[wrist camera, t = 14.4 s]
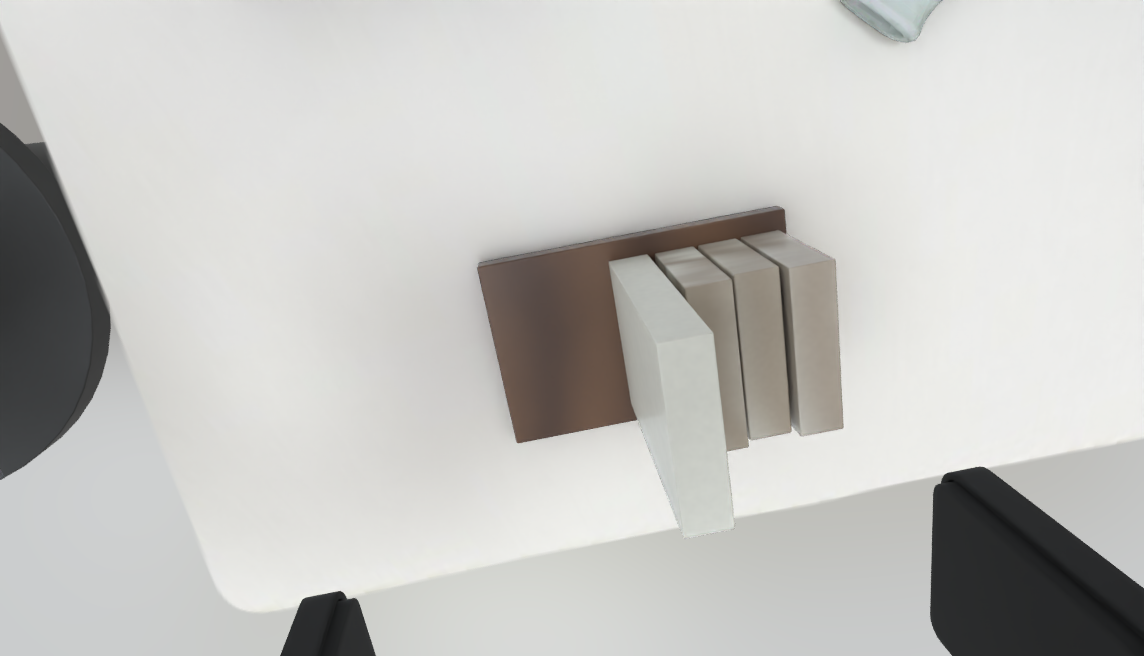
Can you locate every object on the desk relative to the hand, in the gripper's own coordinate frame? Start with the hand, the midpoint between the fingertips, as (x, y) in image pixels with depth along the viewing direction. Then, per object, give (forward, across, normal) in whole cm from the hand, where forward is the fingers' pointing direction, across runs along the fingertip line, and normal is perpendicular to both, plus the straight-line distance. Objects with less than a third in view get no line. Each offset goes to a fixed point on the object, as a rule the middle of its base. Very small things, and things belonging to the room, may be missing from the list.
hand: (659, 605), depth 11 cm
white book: (+25, -4, +5) cm, 26 cm away
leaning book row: (+26, -4, +5) cm, 27 cm away
